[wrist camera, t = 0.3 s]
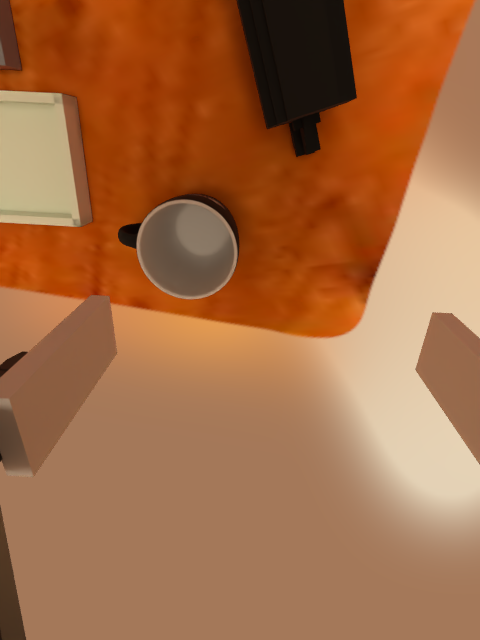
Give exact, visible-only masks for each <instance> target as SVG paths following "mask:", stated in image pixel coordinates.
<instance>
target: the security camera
mask: <svg viewBox="0 0 480 640" xmlns="http://www.w3.org/2000/svg"><path fill="white" fill-rule="evenodd" d="M237 4H238V9H239V13H240V17H241V21H242V26H243V30H244V34H245V38H246V43H247V47H248V51H249V55H250V60H251V64H252V68H253V72H254V77H255V81H256V85H257V89H258V94H259V98H260V102H261V106H262V110H263V115H264V119H265V123H266V127H267V129H270V128H273V127H276V126H279V125H282V124H286V123H289V122H291V123H289V127H290V131H291V136H292V141H293V145H294V148H295V152H296V157H298V156H301V155H304V154H306V155H308V154H311V153H314V152H315V151H317V150H320V144H319V138H318V133H317V127H316V123H319V122H321V121H320V115H319V112H322V111H325V110H327V109H330V108H333V107H336V106H338V105H341V104H344V103H347V102H349V101H351V100H353V99H356V98H357V96H356V89H355V81H354V74H353V67H352V60H351V52H350V45H349V38H348V30H347V23H346V16H345V9H344V1H343V0H237Z"/></svg>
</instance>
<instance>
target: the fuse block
mask: <svg viewBox="0 0 480 640" xmlns="http://www.w3.org/2000/svg"><path fill="white" fill-rule="evenodd" d="M0 69H2V70H22V68H21V62H20V57H19V51H18V46H17V40H16V35H15V29H14V24H13V18H12V13H11V7H10V2H9V0H0Z"/></svg>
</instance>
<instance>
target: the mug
mask: <svg viewBox="0 0 480 640" xmlns="http://www.w3.org/2000/svg"><path fill="white" fill-rule="evenodd" d="M118 238H119V240H120V242H121V243H122V244H124V245H126V246H129V247H132V248H135V249H137V255H138V259H139V262H140V265H141V267H142V269H143V271H144V273H145V274H146V276H147V277H148V278H149V280H150V281H151V282H152V283H153V284H154V285H155V286H156V287H158V288H159V289H160V290H162V291H163V292H165V293H167V294H169V295H172V296H174V297H178V298H182V299H200V298H204V297H207V296H210V295H212V294H214V293H216V292H217V291H219V290H220V289H221V288H222V287H224V286H225V285H226V283H227V282H228V281H229V280H230V278H231V277H232V275H233V273H234V271H235V268H236V265H237V261H238V255H239V236H238V230H237V226H236V223H235V220H234V218H233V216H232V214H231V213H230V211H229V210H228V209H227V208H226V206H225V205H223V204H222V203H221V202H220V201H218V200H217V199H215V198H213V197H210V196H207V195H202V194H187V195H182V196H178V197H175V198H172V199H169V200H167V201H165V202H163V203H161V204H160V205H158V206H157V207H155V208H154V209H153V210H152V211H151V212H150V213H149V214H148V215H147V216H146V218H145V219H144V221H143V222H142V223H137V224H130V225H126V226H123V227H121V228H120V229H119V232H118Z"/></svg>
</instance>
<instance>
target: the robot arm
mask: <svg viewBox="0 0 480 640" xmlns="http://www.w3.org/2000/svg"><path fill="white" fill-rule="evenodd" d="M116 354H117V348H116V341H115V334H114V327H113V320H112V312H111V305H110V298H109V296H98V295H91V296H89V297H88V298H87V299H86V300H85V301H84V302H83V303H82V304H81V305H80V306H78V307H77V308H76V309H75V310H74V311H73V312H72V313H71V314H70V315H69V316H67V318H66V319H64V320H63V321H62V322H61V323H60V324H59V325H58V326H56V327H55V328H54V329H53V330H52V331H51V332H50V333H49V334H48V335H47V336H45V337H44V338H43V339H42V340H41V341H40V342H39V343H38V344H37V345H36V346H35V347H33V348H32V349H31V350H30V351H29V352H21V353H19V354H17V355H15V356H13V357H11V358H9V359H7V360H6V361H5V362H3V364H1V365H0V461H1V460H2V463H3V466H4V468H5V471H6V474H7V475H10V476H25V477H34V476H35V474H36V473H37V471H38V470H39V468H40V467H41V465H42V464H43V462H44V461H45V460H46V458H47V457H48V455H49V454H50V452H51V451H52V449H53V448H54V446H55V445H56V443H57V442H58V440H59V439H60V437H61V436H62V434H63V433H64V431H65V430H66V428H67V427H68V425H69V424H70V422H71V421H72V419H73V418H74V416H75V415H76V413H77V412H78V411H79V409H80V408H81V406H82V405H83V403H84V402H85V400H86V399H87V397H88V396H89V394H90V393H91V391H92V390H93V388H94V387H95V385H96V384H97V382H98V381H99V379H100V378H101V376H102V375H103V374H104V372H105V371H106V369H107V368H108V366H109V365H110V363H111V361H112V360H113V359H114V357H115V356H116ZM416 371H417V373H418V374H419V376H420V377H421V379H422V380H423V382H424V383H425V385H426V386H427V388H428V389H429V391H430V392H431V394H432V395H433V396H434V398H435V399H436V401H437V402H438V404H439V405H440V407H441V408H442V410H443V411H444V413H445V414H446V416H447V417H448V419H449V420H450V421H451V423H452V424H453V426H454V427H455V429H456V430H457V432H458V433H459V435H460V436H461V438H462V439H463V441H464V442H465V444H466V445H467V446H468V448H469V449H470V451H471V452H472V454H473V455H474V457H475V458H476V460H477V461H478V463H479V464H480V338H479V337H478V336H476V335H475V334H474V333H473V332H472V331H471V330H470V329H469V328H467V327H466V326H465V325H464V324H463V323H462V322H461V321H460V320H459V319H458V318H456V317H455V316H454V315H453V314H452V313H432V316H431V319H430V323H429V326H428V329H427V333H426V336H425V339H424V343H423V346H422V349H421V353H420V356H419V360H418V363H417V366H416ZM0 640H26V637H25V632H24V626H23V621H22V616H21V611H20V606H19V600H18V595H17V590H16V585H15V580H14V575H13V569H12V564H11V559H10V554H9V549H8V543H7V538H6V533H5V528H4V523H3V517H2V513H1V508H0Z"/></svg>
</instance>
